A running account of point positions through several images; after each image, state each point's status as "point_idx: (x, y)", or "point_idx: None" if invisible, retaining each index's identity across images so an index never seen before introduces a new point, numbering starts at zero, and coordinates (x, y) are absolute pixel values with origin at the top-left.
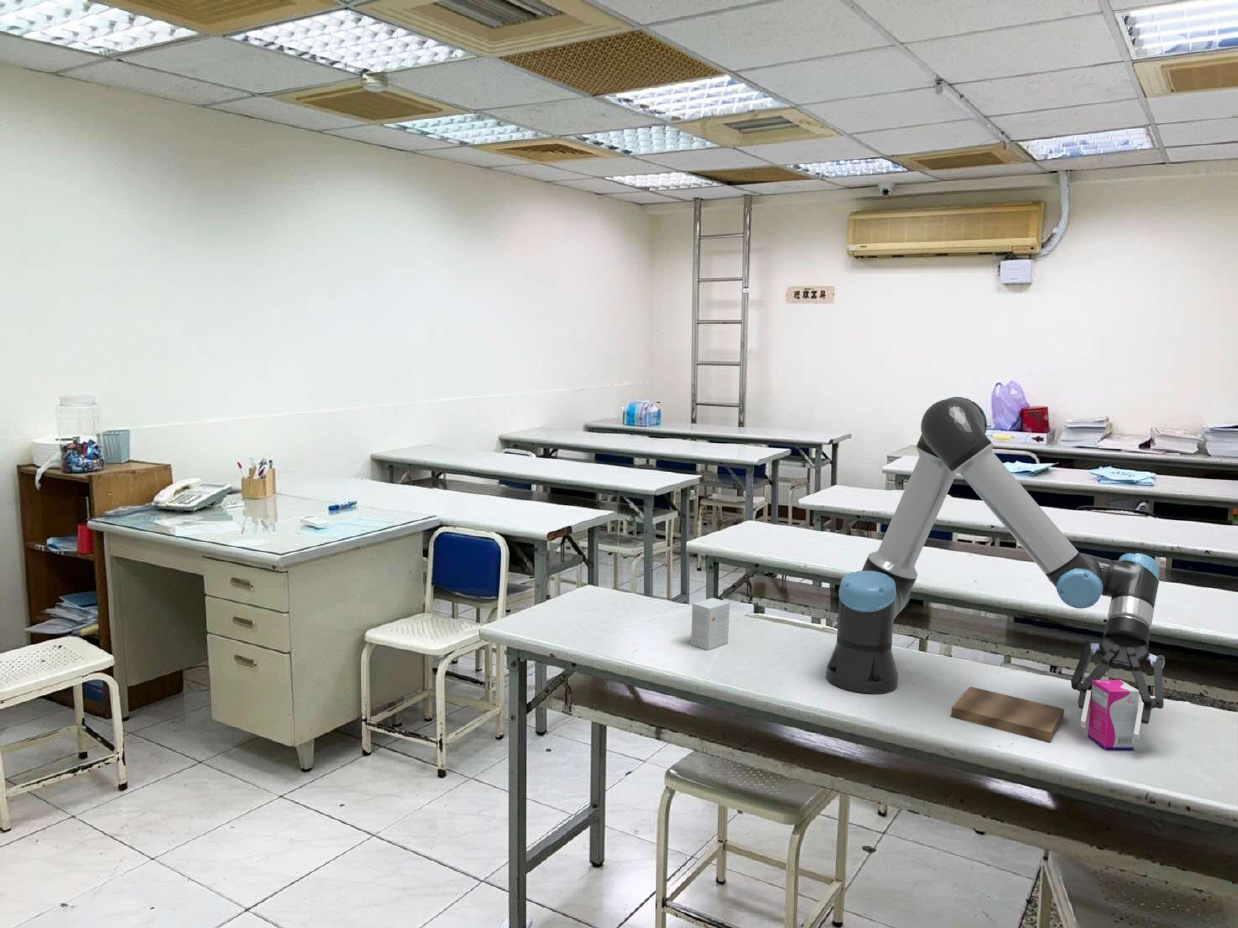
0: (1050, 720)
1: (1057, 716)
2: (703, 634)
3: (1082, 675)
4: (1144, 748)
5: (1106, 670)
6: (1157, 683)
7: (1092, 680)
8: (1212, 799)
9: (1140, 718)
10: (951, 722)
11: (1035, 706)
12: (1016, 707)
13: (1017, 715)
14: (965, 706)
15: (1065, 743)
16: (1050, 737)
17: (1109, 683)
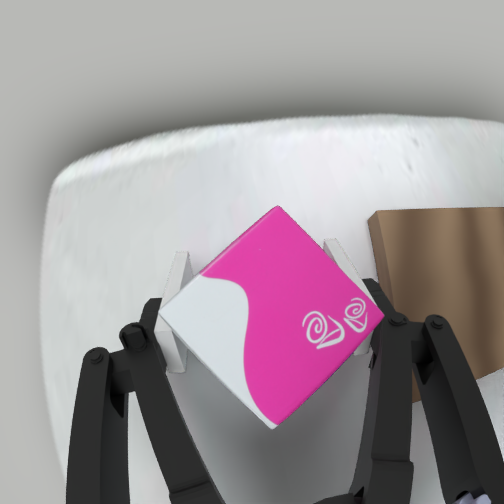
0: (405, 289)
1: None
2: None
3: (430, 387)
4: None
5: (357, 473)
6: (92, 425)
7: (383, 314)
8: (66, 184)
9: (168, 285)
10: (497, 190)
11: None
12: (476, 308)
13: (458, 258)
14: None
15: (343, 241)
16: (372, 216)
17: (306, 317)
